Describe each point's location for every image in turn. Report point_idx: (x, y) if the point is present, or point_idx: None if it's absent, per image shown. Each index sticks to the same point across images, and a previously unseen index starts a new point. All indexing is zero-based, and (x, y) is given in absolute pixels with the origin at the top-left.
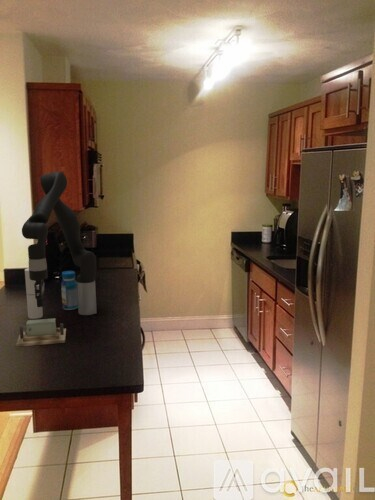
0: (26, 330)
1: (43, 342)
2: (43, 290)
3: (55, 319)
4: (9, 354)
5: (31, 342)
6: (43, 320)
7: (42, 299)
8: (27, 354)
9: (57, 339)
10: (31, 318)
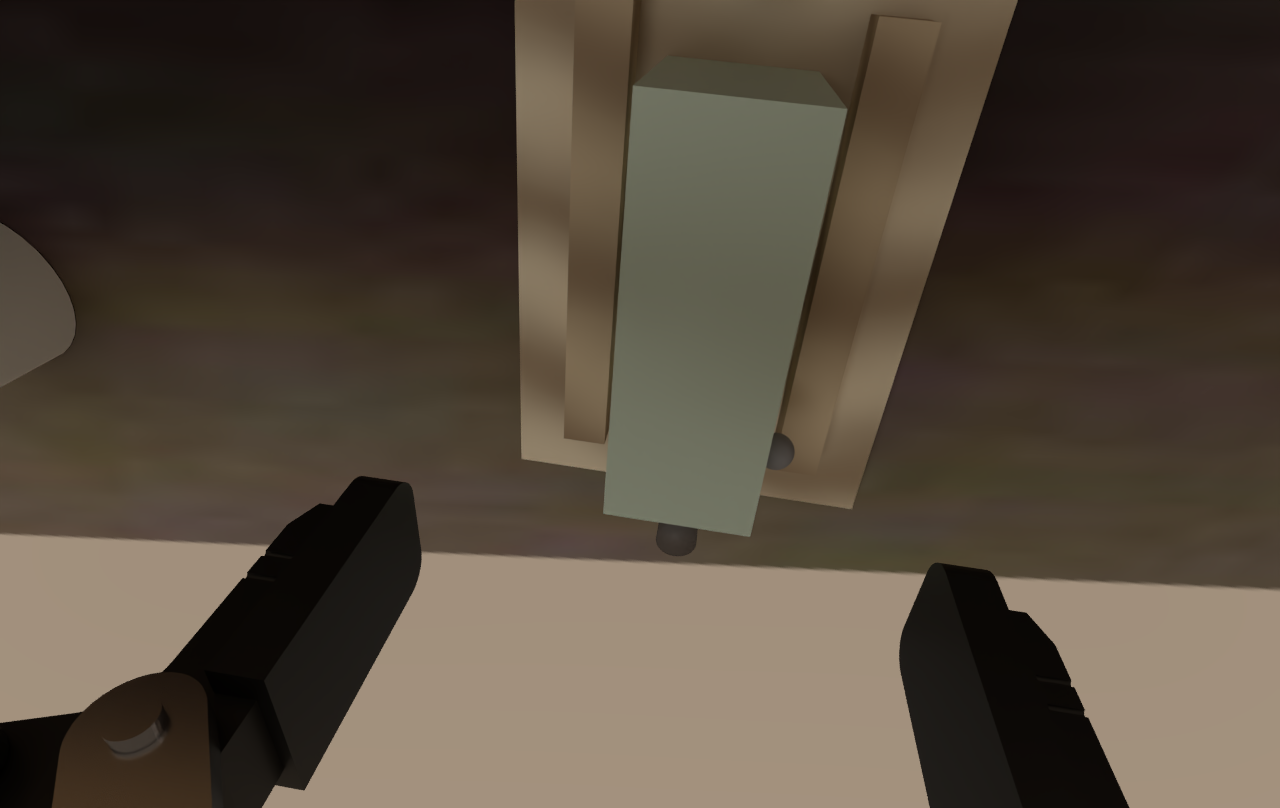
0: (573, 431)
1: (933, 247)
2: (170, 786)
3: (636, 82)
4: (1011, 546)
5: (882, 379)
6: (686, 312)
7: (389, 532)
8: (1128, 413)
9: (955, 47)
10: (71, 333)
